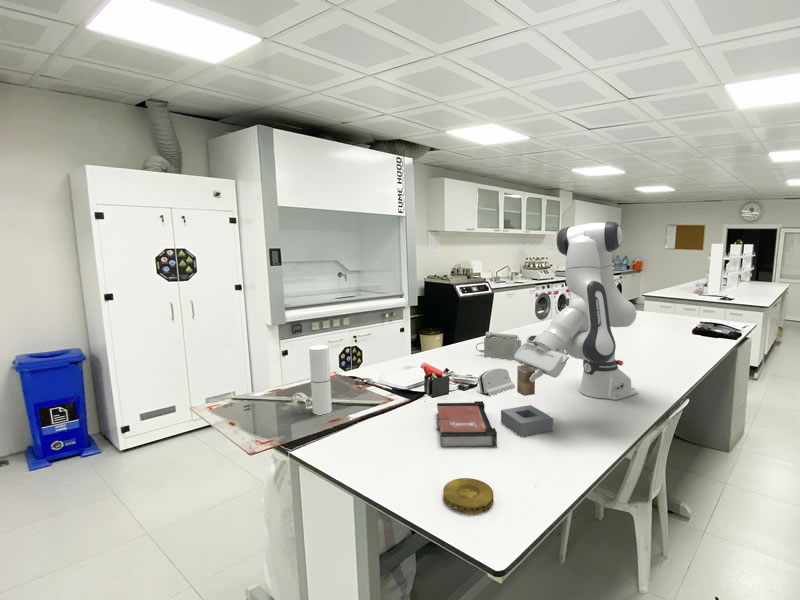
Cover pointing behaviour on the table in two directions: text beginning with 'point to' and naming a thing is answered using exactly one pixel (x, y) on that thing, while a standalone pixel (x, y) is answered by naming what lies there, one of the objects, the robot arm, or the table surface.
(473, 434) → the book
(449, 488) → the gold round disc
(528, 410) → the socket block
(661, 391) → the table surface
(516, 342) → the geiger counter
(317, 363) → the cylindrical container
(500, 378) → the hinge
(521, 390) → the peg
